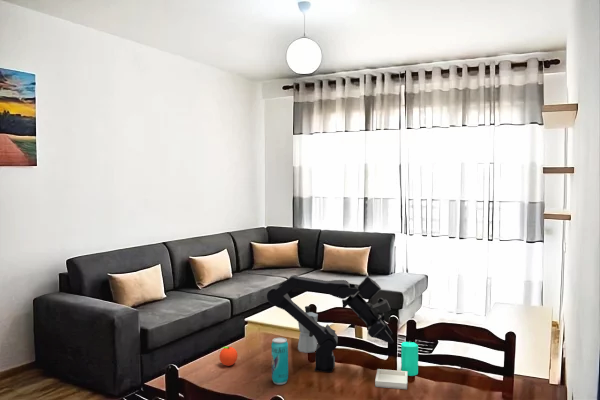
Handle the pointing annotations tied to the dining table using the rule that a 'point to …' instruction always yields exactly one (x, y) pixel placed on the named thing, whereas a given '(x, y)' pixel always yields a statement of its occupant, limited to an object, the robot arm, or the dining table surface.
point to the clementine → (228, 356)
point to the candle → (409, 358)
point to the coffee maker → (307, 335)
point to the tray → (391, 379)
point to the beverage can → (279, 360)
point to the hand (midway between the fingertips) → (392, 338)
